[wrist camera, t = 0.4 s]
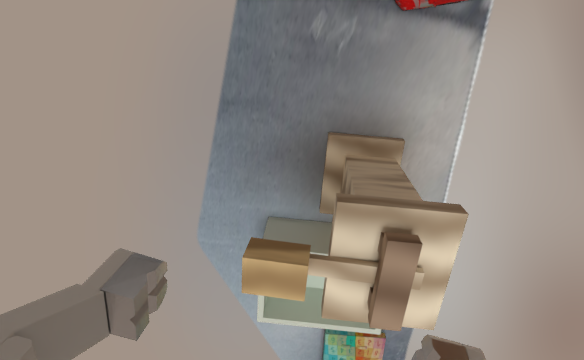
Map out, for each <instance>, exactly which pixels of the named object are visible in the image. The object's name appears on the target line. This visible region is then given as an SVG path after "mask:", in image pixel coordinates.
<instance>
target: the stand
mask: <svg viewBox="0 0 584 360" xmlns="http://www.w3.org/2000/svg"><path fill="white" fill-rule="evenodd" d="M404 144H405V141H404V140H403V139H399V138H388V137H376V136H365V135H354V134H342V133H331V132H329V133H328V141H327V150H326V159H325V167H324V176H323V184H322V193H321V202H320V213H325V214H333V221H332V229H331V236H330V244H329V251H328V256H333V257H341V258H348V259H356V260H364V261H371V262H379V263H378V268H377V273H376V278H375V283H374V284H371V283H363V282H356V281H349V280H341V279H334V278H327V277H325V281H324V289H323V296H322V304H321V315H322V318H325V319H334V320H343V321H353V322H362V323H369V326H370V328H376V329H385V330H395V331H401V327H410V328H419V329H429V330H434V327H435V324H436V320H437V317H438V314H439V310H440V307H441V304H442V300H443V297H444V294H445V291H446V287H447V284H448V281H449V277H450V274H451V271H452V267H453V264H454V261H455V257H456V254H457V250H458V247H459V244H460V241H461V238H462V234H463V231H464V228H465V224H466V221H467V218H468V213H467V212H466V211H465V210H464V208H463V207H462V206H461V205H459V204H449V203H438V202H427V201H423V200H422V199H421V197H420V196H419V194H418V193H417V191H416V190H415V188H414V187H413V185H412V184H411V182H410V181H409V179H408V178H407V176H406V175H405V173H404V171H403V170H402V168H401V167H400V164H401V159H402V154H403V149H404ZM416 268H423V271H424V273H425V274H424V277H423V281H422V285H421V289H420V290H415V289H411V288H412V284H413V280H414V276H415V272H416Z"/></svg>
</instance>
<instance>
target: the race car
mask: <svg viewBox="0 0 584 360" xmlns="http://www.w3.org/2000/svg"><path fill="white" fill-rule="evenodd" d="M461 1H466V0H395V2H396V4H397V5H398V6H399V7H400V8H401V9H402V10H405V11H406V10H411V9H417V8H419V9H420V8H426V7H433V6H434V7H436V6H439V5H445V4H451V3H457V2H461Z"/></svg>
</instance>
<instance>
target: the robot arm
mask: <svg viewBox="0 0 584 360" xmlns="http://www.w3.org/2000/svg"><path fill="white" fill-rule="evenodd" d="M166 271H167V263H166V262H164V261H161V260H158V259H155V258H151V257H148V256H145V255H142V254H138V253H135V252H131V251H128V250H124V249H118V250H116V251H115V252H114V253H113V254H112V255H111V256H110V257H109V258H108V259H107V260H106V261H105V262H104V263H103V264H102V265H101V266H100V267H99V268H98V269H97V270H96V271H95V272H94V273H93V274H92V275H91V276H90V277H89V278H88V279H87V280H86V282H84V283H83V284H82V285H79V284H76V285H74V286H71V287H68V288H66V289H64V290H61V291H58V292H56V293H53V294H51V295H48V296H46V297H44V298H41V299H39V300H36V301H34V302H31V303H29V304H26V305H24V306H21V307H19V308H16V309H14V310H11V311H9V312H7V313H4V314H1V315H0V360H71V359H73V358H75V357H76V356H78V355H79V354H81V353H82V352H84V351H86V350H87V349H89V348H90V347H92V346H93V345H95V344H97V343H98V342H100V341H101V340H103V339H104V338H106V337H108V336H109V334H113V335H117V336H120V337H124V338H128V339H132V340H135V341H137V340H138V338H139V337H140V335H141V334H142V332H143V331H144V329H145V328H146V326H147V325H148V323H149V314H151V313H153V312H155V311H156V310H157V309H158V308H159V306H160V305H161V303H162V301H163V299H164V296H165V294H166V290H167V280H166V278H165V277H164V274H165V273H166ZM421 343H422V349H420V350H417V351H416V352H415V354H414V356H413V357H412V360H486V359H485V356H484V353H483V352H482V350H481V349H479V348H475V347H472V346H468V345H464V344H461V343H458V342H454V341H450V340H447V339H443V338H439V337H435V336H432V335H426V336H425V337H424V338H423V340H422V341H421Z"/></svg>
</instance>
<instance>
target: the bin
mask: <svg viewBox="0 0 584 360" xmlns="http://www.w3.org/2000/svg"><path fill="white" fill-rule="evenodd" d="M331 229H332V223H330V222H319V221H309V220H299V219H288V218H278V217H268V221H267V225H266V229H265V232H264V236H263V239H268V240H276V241H284V242H292V243H299V244H307V245H311V249H310V254H318V255H325V256H328V251H329V244H330V236H331ZM324 281H325V277H319V276H312V275H308V276H307V284H306V292H305V301H297V300H290V299H283V298H276V297H269V296H261V295H258V313H257V322H265V323H275V324H284V325H294V326H303V327H312V328H322V329H331V330H340V331H350V332H359V333H368V334H378V335H380V334H381V329H376V328H370V326H369V323H362V322H353V321H343V320H334V319H325V318H322V315H321V304H322V296H323V289H324Z"/></svg>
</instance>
